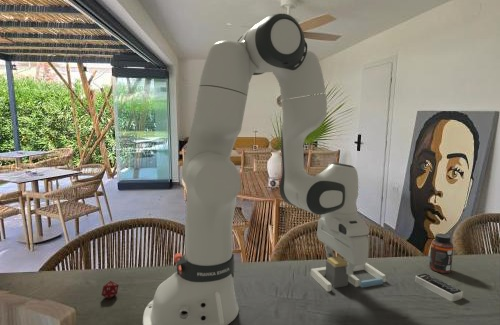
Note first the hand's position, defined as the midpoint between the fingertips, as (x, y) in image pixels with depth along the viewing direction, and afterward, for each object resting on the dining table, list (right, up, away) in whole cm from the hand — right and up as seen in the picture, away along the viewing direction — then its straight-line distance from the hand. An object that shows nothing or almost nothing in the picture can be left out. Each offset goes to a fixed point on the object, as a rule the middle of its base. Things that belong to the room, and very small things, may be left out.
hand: (338, 266), depth 86 cm
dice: (-62, -6, -8) cm, 63 cm away
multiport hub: (+27, -6, -3) cm, 28 cm away
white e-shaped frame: (+3, -5, +3) cm, 7 cm away
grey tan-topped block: (-1, -5, 0) cm, 5 cm away
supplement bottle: (+35, -5, +9) cm, 36 cm away
